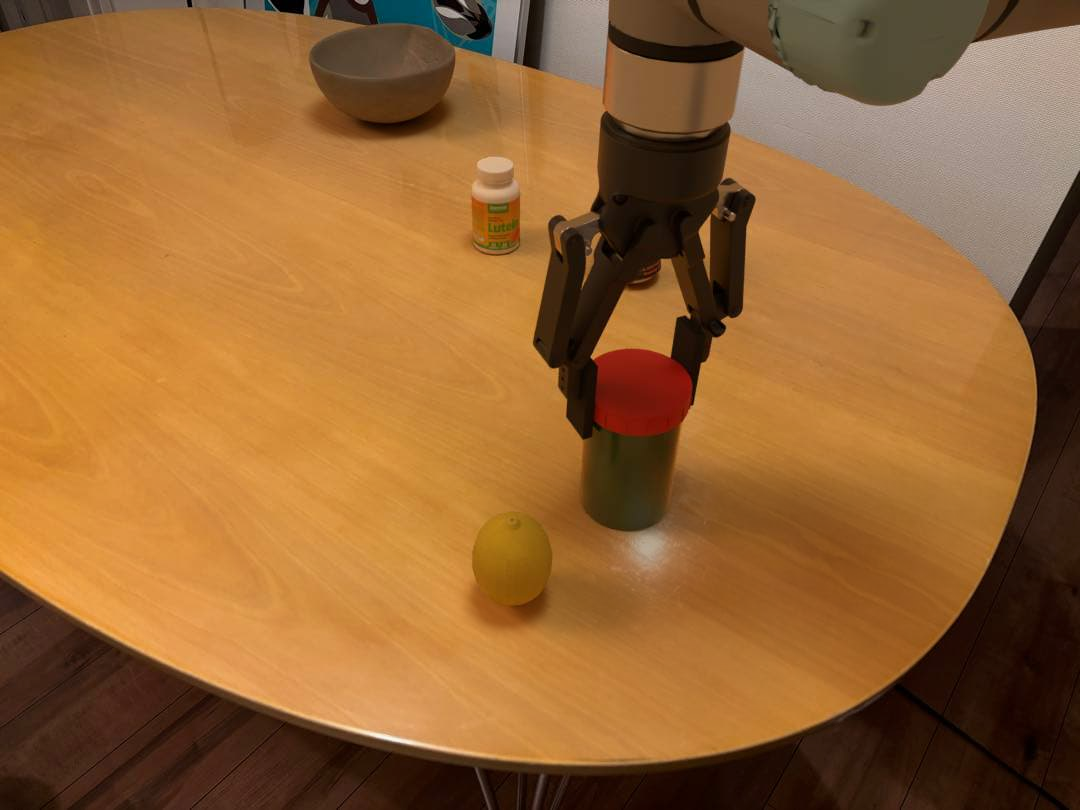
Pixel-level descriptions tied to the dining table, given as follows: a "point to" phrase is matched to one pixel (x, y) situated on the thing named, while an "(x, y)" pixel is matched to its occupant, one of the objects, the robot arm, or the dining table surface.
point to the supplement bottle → (495, 206)
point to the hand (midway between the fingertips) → (630, 410)
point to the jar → (628, 477)
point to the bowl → (383, 71)
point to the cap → (641, 392)
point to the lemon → (512, 558)
